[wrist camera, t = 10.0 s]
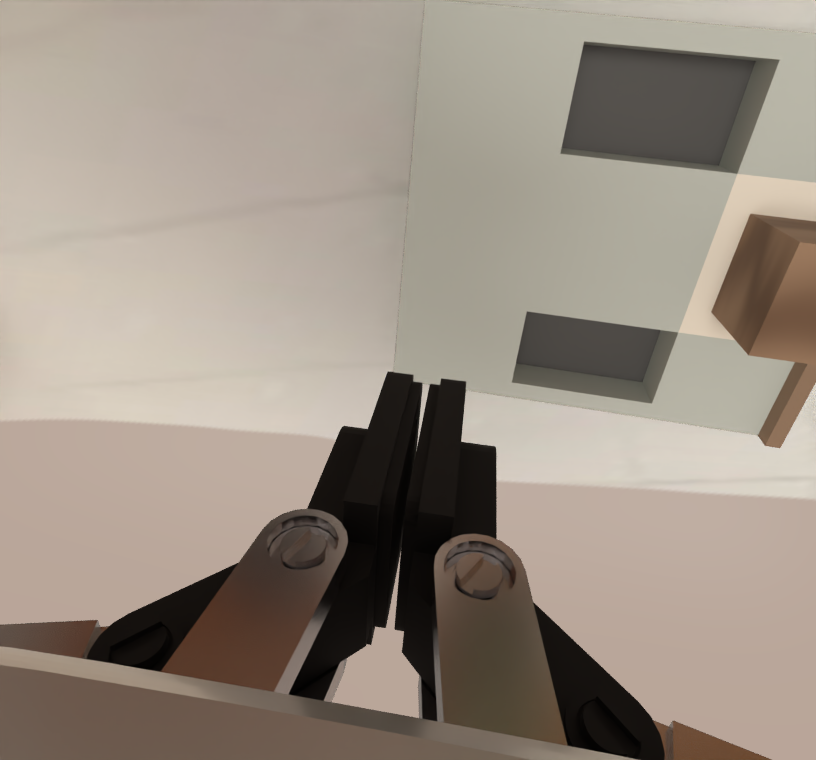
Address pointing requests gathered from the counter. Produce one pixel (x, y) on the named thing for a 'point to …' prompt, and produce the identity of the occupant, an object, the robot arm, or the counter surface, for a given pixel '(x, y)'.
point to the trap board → (601, 209)
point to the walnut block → (772, 290)
